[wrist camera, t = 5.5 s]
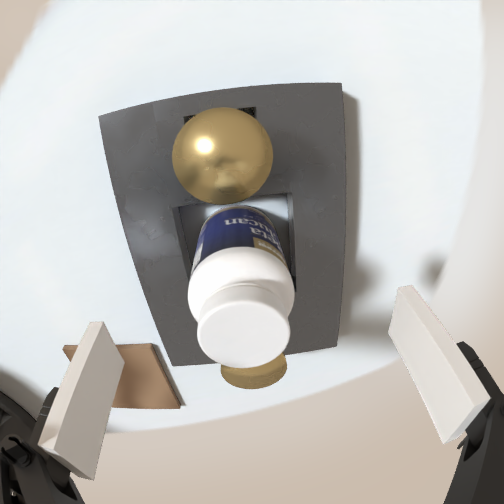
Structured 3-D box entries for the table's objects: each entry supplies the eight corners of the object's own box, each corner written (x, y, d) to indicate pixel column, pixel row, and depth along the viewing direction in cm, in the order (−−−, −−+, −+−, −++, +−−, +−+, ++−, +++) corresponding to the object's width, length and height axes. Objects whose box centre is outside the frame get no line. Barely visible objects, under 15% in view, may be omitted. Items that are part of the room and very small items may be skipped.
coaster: (103, 402, 30) (102, 406, 29) (64, 345, 25) (62, 349, 24) (180, 404, 30) (180, 408, 29) (151, 343, 25) (150, 348, 25)
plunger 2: (226, 354, 23) (226, 391, 20) (216, 313, 21) (215, 351, 18) (280, 348, 23) (287, 384, 20) (277, 306, 21) (285, 343, 18)
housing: (175, 349, 26) (172, 366, 24) (110, 114, 16) (98, 116, 14) (330, 330, 26) (336, 346, 24) (330, 84, 16) (341, 82, 15)
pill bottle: (285, 210, 20) (326, 297, 12) (266, 277, 23) (287, 382, 14) (205, 195, 19) (186, 277, 11) (193, 266, 22) (177, 371, 13)
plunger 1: (191, 188, 17) (181, 210, 14) (179, 113, 15) (164, 116, 12) (267, 178, 17) (276, 198, 14) (259, 102, 15) (267, 102, 12)
